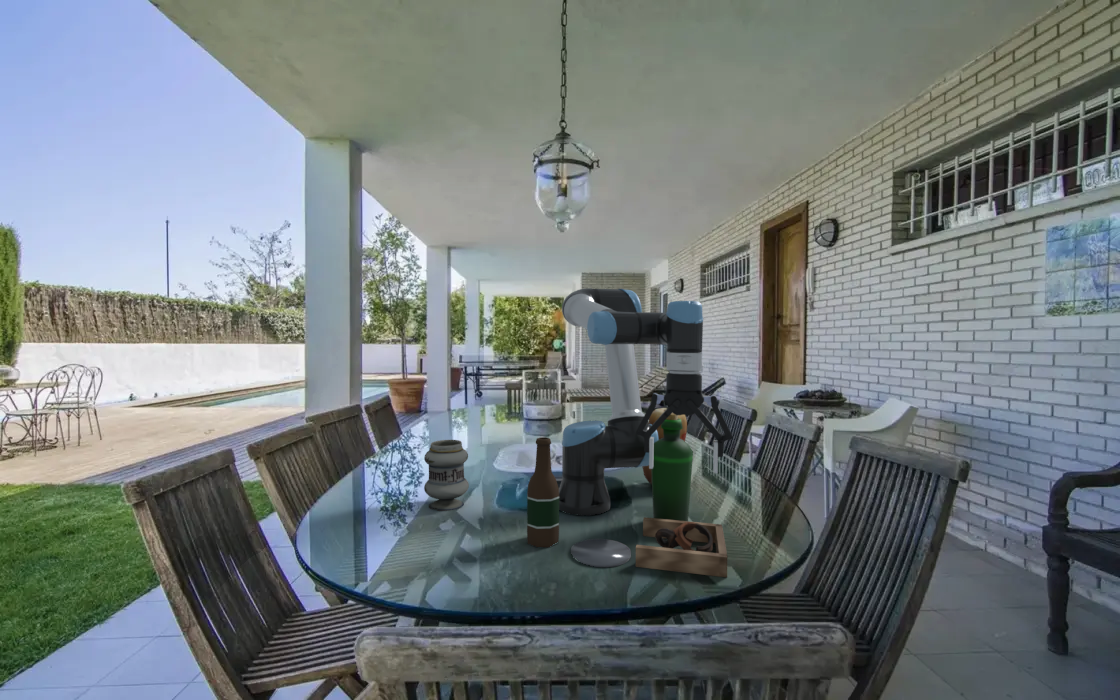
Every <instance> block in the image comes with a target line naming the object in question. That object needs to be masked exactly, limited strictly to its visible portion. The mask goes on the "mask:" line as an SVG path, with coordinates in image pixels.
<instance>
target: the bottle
mask: <svg viewBox="0 0 1120 700" xmlns="http://www.w3.org/2000/svg"><path fill="white" fill-rule="evenodd" d="M661 428H663V435H664V438H661V439H659V440H658V441H656V442H655V443H654V460H653V469H651V474H652V485H651V489H652V490H651V492H652V514H653V517H652V518H657V519H668V520H679V521H689V513H690V512H689V511H690V499H691V498H690V497H691V487H692V485H691V484H692V473H693V472H692V471H693V461H694V460H693V459H694V458H693V457H694V451H693V449H692V447H691V446H690V444H689V443H688V442H687V441H686V440H685V441H684V440H682V439H680V430H681V429H683V426H682V421H681V419H679V418H678V415H675V414H674V413H671V414H670V416H669V417H667V419H666V420H665V421H664V422H663V423H662V424H661Z"/></svg>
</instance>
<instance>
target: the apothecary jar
mask: <svg viewBox="0 0 1120 700" xmlns="http://www.w3.org/2000/svg"><path fill="white" fill-rule="evenodd" d="M429 447H430V448H429V450H428V451H427V452H426V453H425V454H424V460H423V461H425V463H426V464H427V465H428V480H427V481H425V484H424V488H423V490H424V492H425V494H426V495H427V496H428V497H430V498H433V499H435V501H432V502H430V504H428V509H430V510H435V511H437V512H451V511H455V510H459V509H461V508H463V506H464V505H465V502H463V501H462V500H459V499H457V498H459V497H462V496H463V495H465V494H466V493H467V492H468V490H469V488H470V484H469V481H468V480H467V478H465V466H464V465H465V463H466V462H467V460H468V458H469V454H468V451H467V450H465V449H464V448H463V447H464V446H463V442H462V441H461V440H457V439H442V440H436V441H435V440H434V441H432V442H431V443H430V445H429Z"/></svg>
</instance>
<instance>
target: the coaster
mask: <svg viewBox="0 0 1120 700" xmlns="http://www.w3.org/2000/svg"><path fill="white" fill-rule="evenodd" d="M631 551H632V550H631V548H630V547H628V545H626V544H625V543H622V542H620V541H617V540H613V539H607V538H591V539H590V538H589V539H584V540H580V541H577V542H575V543H574V544H572V546H571V548H570V555H571V554H572V555H573V557H574V558H576V559H577V560H578V561H580V562H581V563H580V564H582V563H583V564H582V565H584V564H586V565H585V566H588V565H590V566H589V567H593V566H594V567H595V568H611V567H619V566H621V565H624V564H627V562H628V561H630V559H631V557H632V556H631V554H632V552H631ZM573 557H572V558H573Z"/></svg>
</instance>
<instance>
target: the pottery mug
mask: <svg viewBox="0 0 1120 700" xmlns="http://www.w3.org/2000/svg"><path fill="white" fill-rule="evenodd" d="M694 522H695V521H689V522H685V523H683V524H681V525H680V526H679V527H677V528H676V529H674V530H669V529H667V528H661V529H659V530H658V531H657V532H656V534H655V537H654V538H655V540H656V542H657V544H658V545H659V547H663V548H673V549H676V548H677V547H680V548H681V549H682V550H691V551H701V552H710V553H712V552H713V548H714V547H713V545H714V543H712V542H713V538H712V535H711V534H710V532H709V531H708V529H706V528H705V527H704V526H702V525H700V524H698V523H694ZM694 528H696V529H698V530H699V532H700V533H701V534H704V535H706V536H707V538H708V543H707V544H704V545H696V546H695V549H693V548H692V544H693V542H694V541H693V540H692V539H689V538H687V537H685V535H686V533H687V532H688V531H690V530H692V529H694ZM662 537H665V538H662Z"/></svg>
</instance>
